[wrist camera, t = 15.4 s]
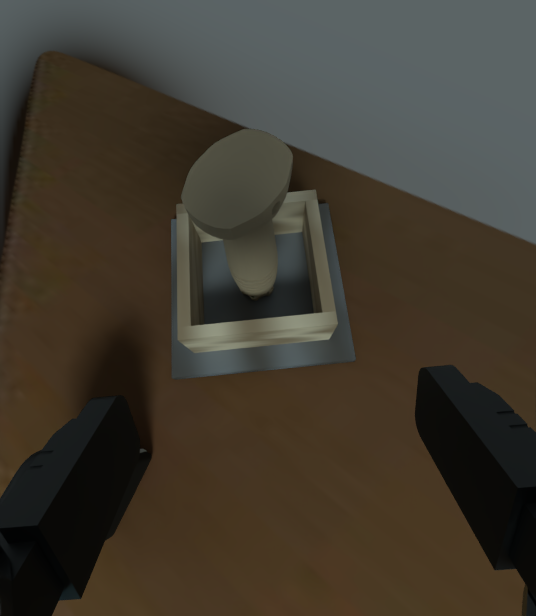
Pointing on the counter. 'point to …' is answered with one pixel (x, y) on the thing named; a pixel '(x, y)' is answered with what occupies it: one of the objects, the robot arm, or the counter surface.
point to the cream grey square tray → (266, 310)
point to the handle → (242, 203)
